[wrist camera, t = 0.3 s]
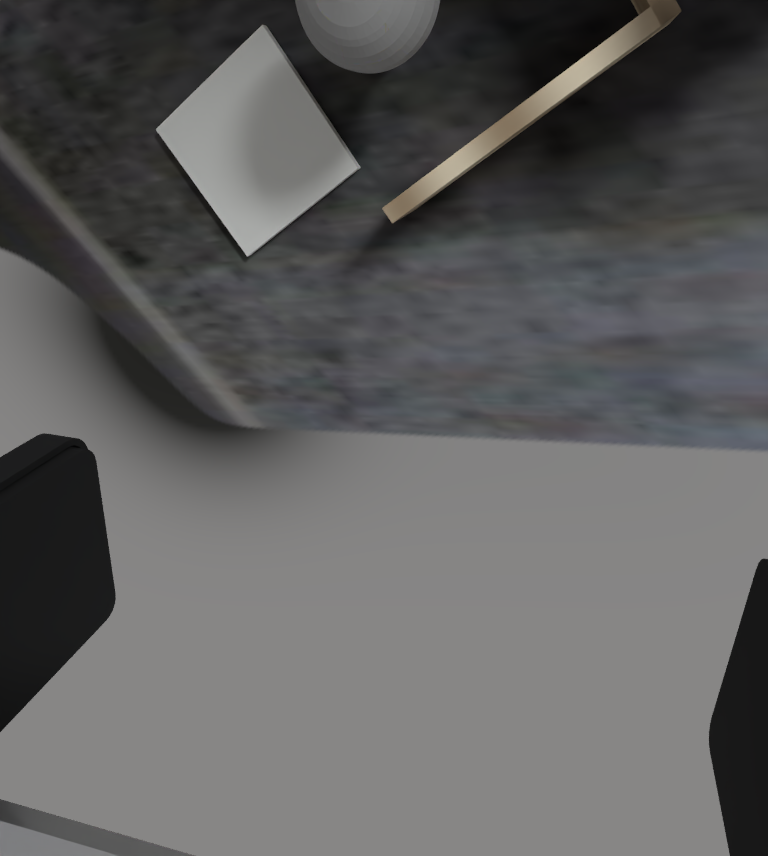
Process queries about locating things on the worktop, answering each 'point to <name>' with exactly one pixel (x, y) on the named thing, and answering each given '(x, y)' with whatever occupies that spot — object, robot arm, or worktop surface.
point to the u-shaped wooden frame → (539, 104)
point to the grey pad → (257, 143)
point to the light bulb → (367, 30)
